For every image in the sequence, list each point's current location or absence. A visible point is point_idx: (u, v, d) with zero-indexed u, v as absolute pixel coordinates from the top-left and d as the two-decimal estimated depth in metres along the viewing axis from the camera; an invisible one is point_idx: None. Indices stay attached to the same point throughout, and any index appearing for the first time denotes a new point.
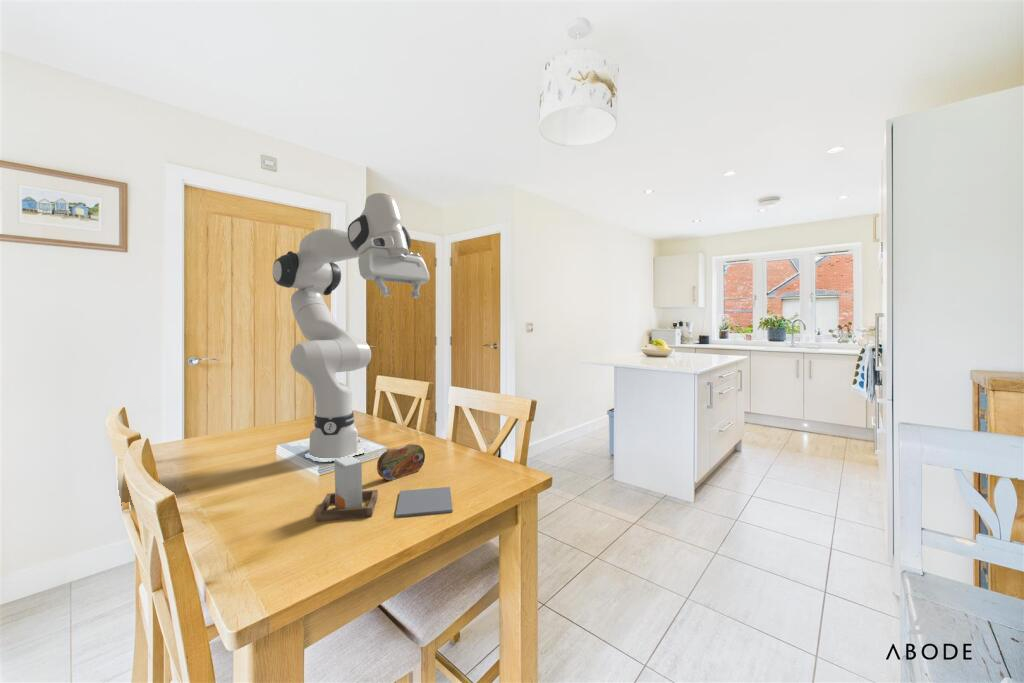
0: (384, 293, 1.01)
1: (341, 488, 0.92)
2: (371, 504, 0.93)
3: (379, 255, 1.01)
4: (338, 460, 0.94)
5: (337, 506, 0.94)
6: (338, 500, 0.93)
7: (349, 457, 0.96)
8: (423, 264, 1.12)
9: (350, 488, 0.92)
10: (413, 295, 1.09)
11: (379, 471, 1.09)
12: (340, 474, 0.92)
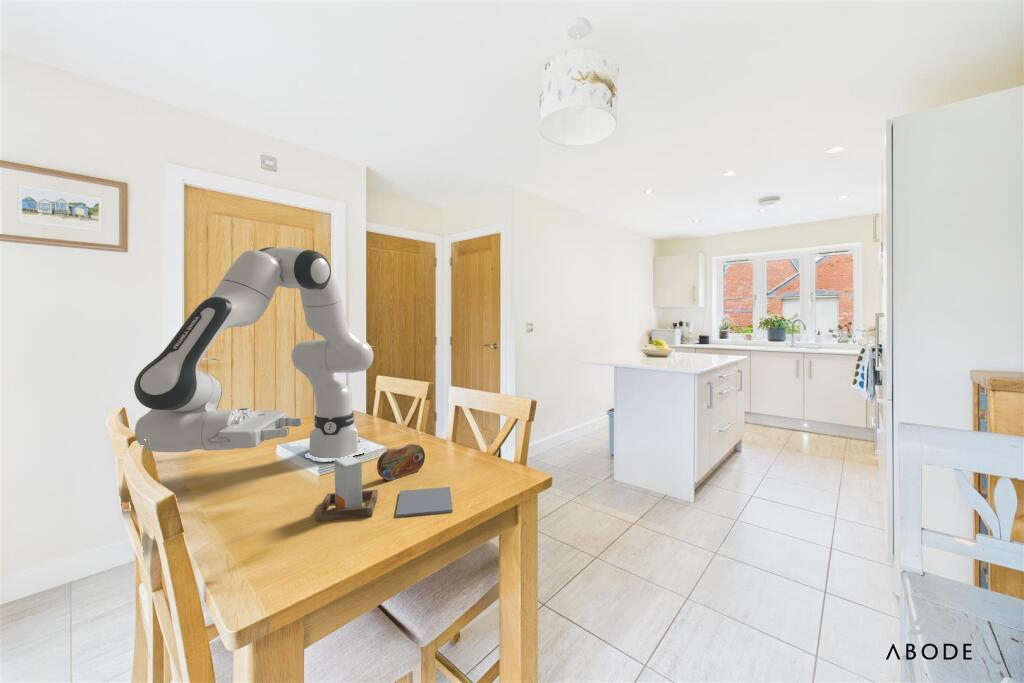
0: None
1: (341, 488, 0.92)
2: (371, 504, 0.93)
3: None
4: (338, 460, 0.94)
5: (337, 506, 0.94)
6: (338, 500, 0.93)
7: (349, 457, 0.96)
8: None
9: (350, 488, 0.92)
10: None
11: (379, 471, 1.09)
12: (340, 474, 0.92)
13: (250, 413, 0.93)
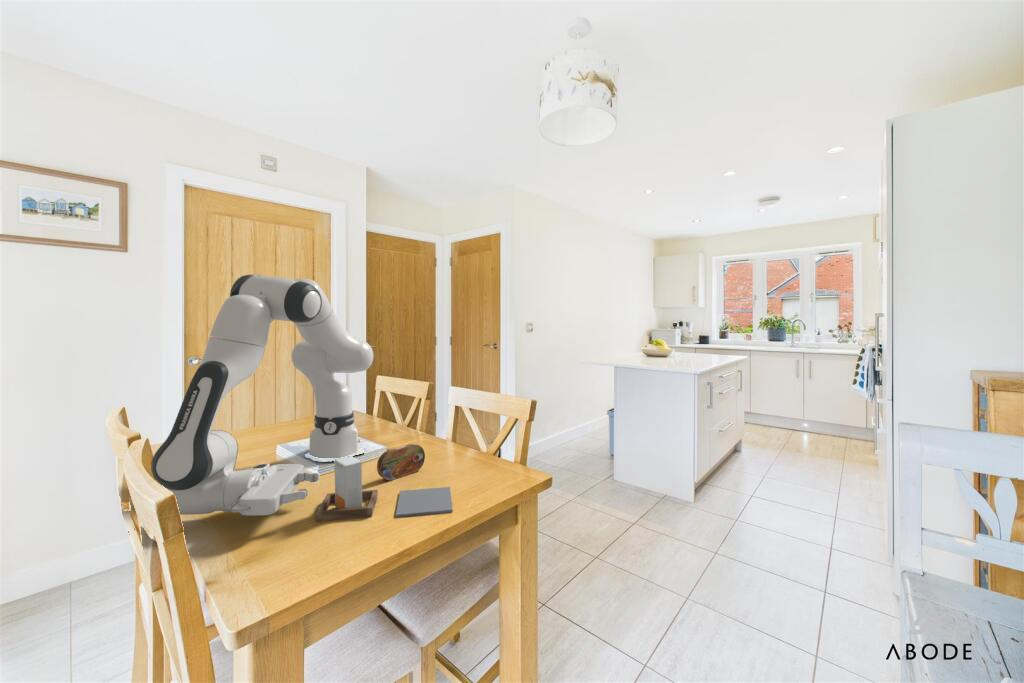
0: None
1: (341, 488, 0.92)
2: (371, 504, 0.93)
3: None
4: (338, 460, 0.94)
5: (337, 506, 0.94)
6: (338, 500, 0.93)
7: (349, 457, 0.96)
8: None
9: (350, 488, 0.92)
10: None
11: (379, 471, 1.09)
12: (340, 474, 0.92)
13: (269, 471, 0.95)
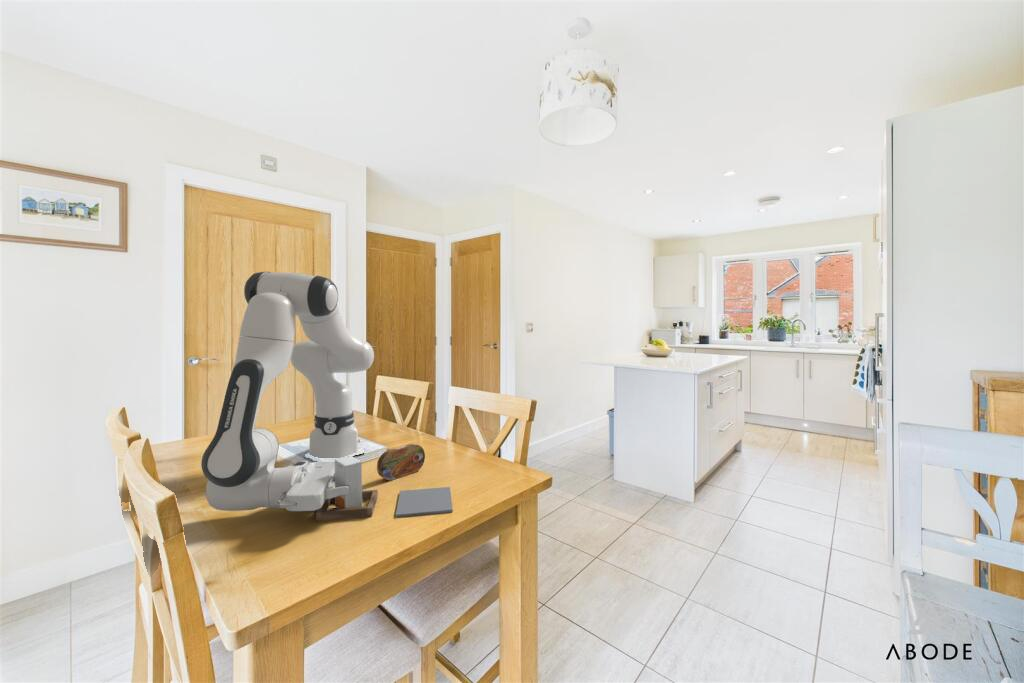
0: None
1: None
2: (371, 504, 0.93)
3: None
4: (338, 460, 0.94)
5: (337, 506, 0.94)
6: (338, 500, 0.93)
7: (349, 457, 0.96)
8: None
9: (350, 488, 0.92)
10: None
11: (379, 471, 1.09)
12: (340, 474, 0.92)
13: (308, 468, 0.96)
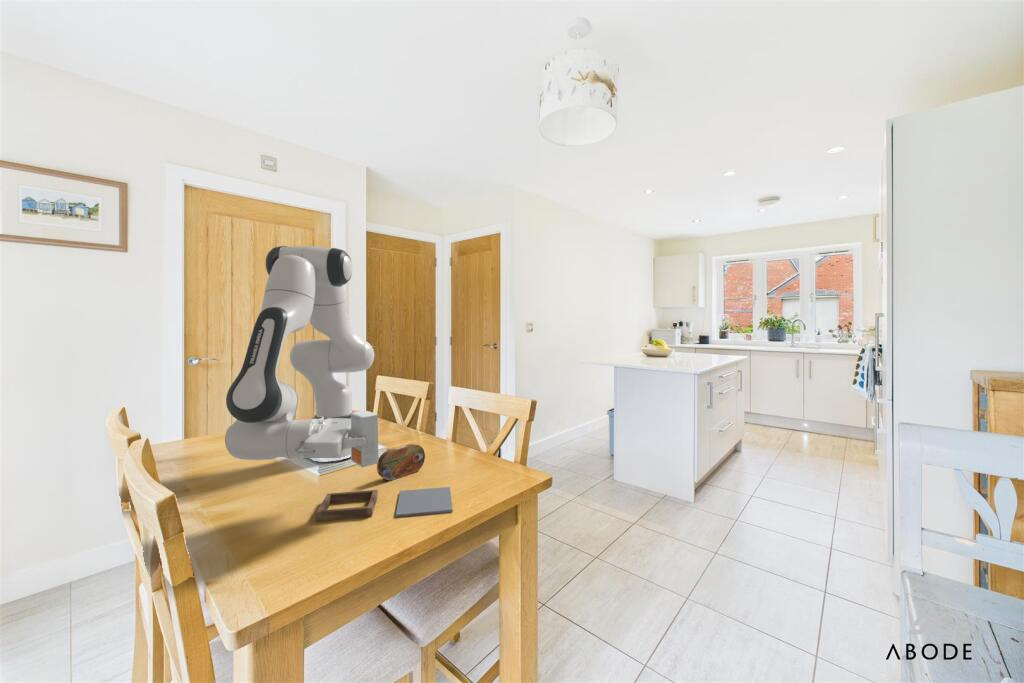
0: None
1: None
2: (371, 504, 0.93)
3: None
4: (354, 413, 0.94)
5: (353, 460, 0.94)
6: (354, 453, 0.93)
7: (365, 411, 0.96)
8: None
9: (367, 440, 0.92)
10: None
11: (379, 471, 1.09)
12: (356, 426, 0.92)
13: (325, 422, 0.96)
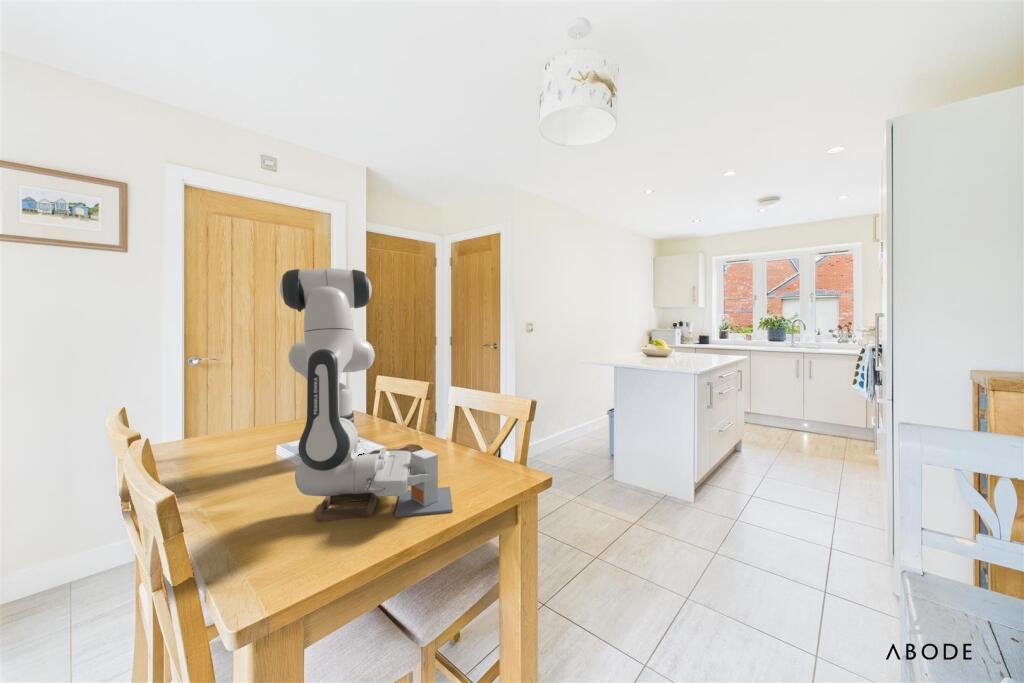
0: None
1: None
2: (371, 504, 0.93)
3: None
4: (415, 453, 0.97)
5: (413, 498, 0.97)
6: (415, 492, 0.97)
7: (424, 450, 0.99)
8: None
9: (428, 480, 0.95)
10: None
11: None
12: (417, 466, 0.96)
13: (384, 456, 1.00)
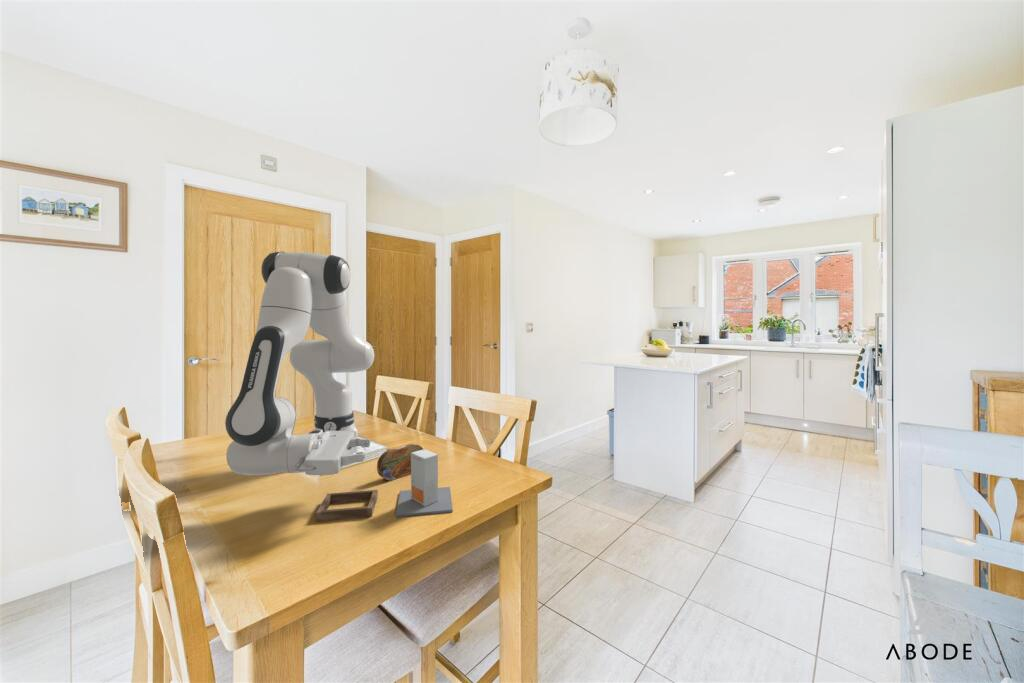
0: None
1: (419, 480, 0.95)
2: (371, 504, 0.93)
3: None
4: (415, 453, 0.97)
5: (413, 498, 0.97)
6: (415, 492, 0.97)
7: (424, 450, 0.99)
8: None
9: (428, 480, 0.95)
10: None
11: (379, 471, 1.09)
12: (417, 466, 0.96)
13: (324, 436, 0.99)
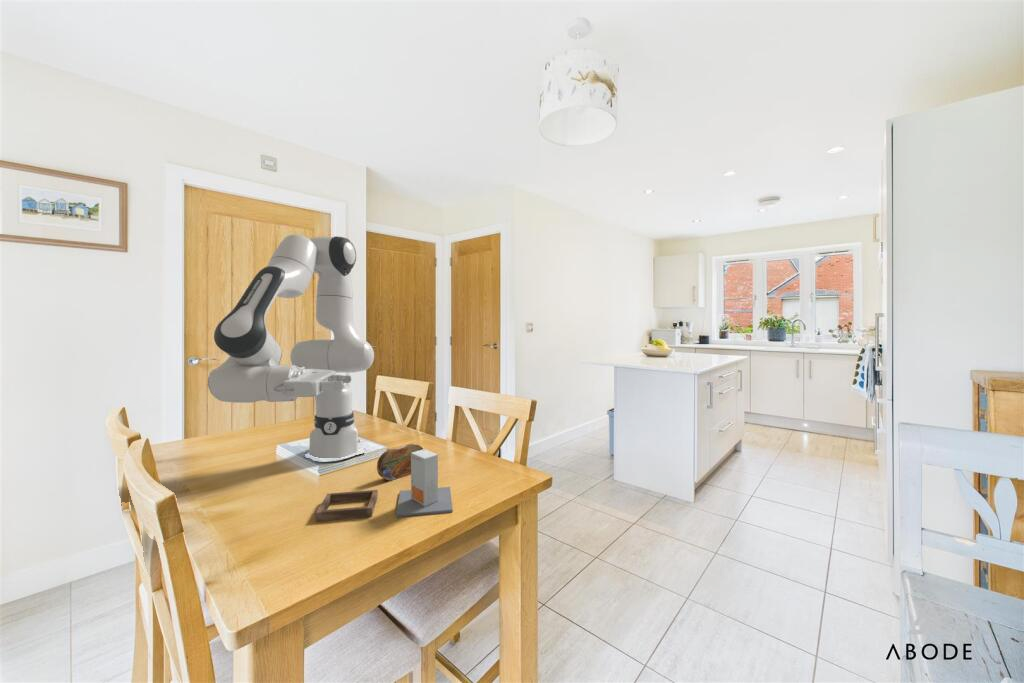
0: None
1: (419, 480, 0.95)
2: (371, 504, 0.93)
3: None
4: (415, 453, 0.97)
5: (413, 498, 0.97)
6: (415, 492, 0.97)
7: (424, 450, 0.99)
8: None
9: (428, 480, 0.95)
10: None
11: (379, 471, 1.09)
12: (417, 466, 0.96)
13: (305, 370, 1.00)
